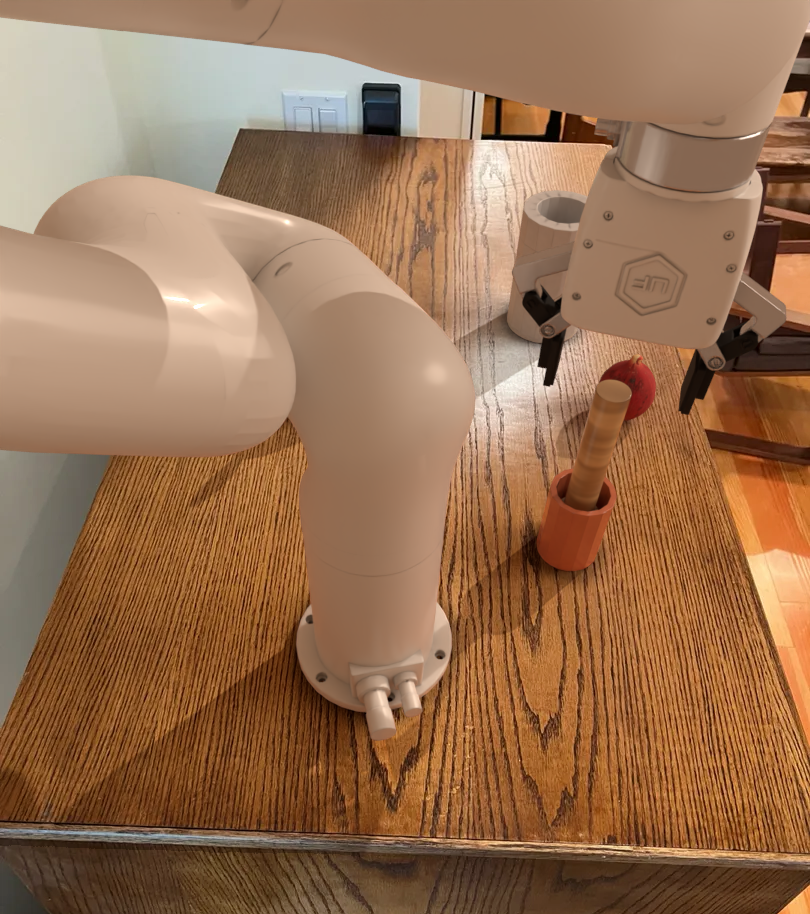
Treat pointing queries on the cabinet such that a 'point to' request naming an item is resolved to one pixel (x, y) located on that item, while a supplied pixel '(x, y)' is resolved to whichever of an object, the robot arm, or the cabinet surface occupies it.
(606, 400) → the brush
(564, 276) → the white hollow cylinder
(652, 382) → the onion
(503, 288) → the cabinet surface
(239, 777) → the cabinet surface
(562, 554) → the holder
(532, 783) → the cabinet surface
